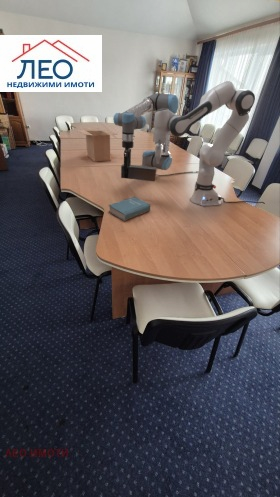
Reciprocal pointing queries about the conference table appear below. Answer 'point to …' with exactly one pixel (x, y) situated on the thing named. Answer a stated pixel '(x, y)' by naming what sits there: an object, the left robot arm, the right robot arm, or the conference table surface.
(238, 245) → the conference table surface
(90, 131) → the box
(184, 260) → the conference table surface
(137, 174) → the bar
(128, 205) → the book
